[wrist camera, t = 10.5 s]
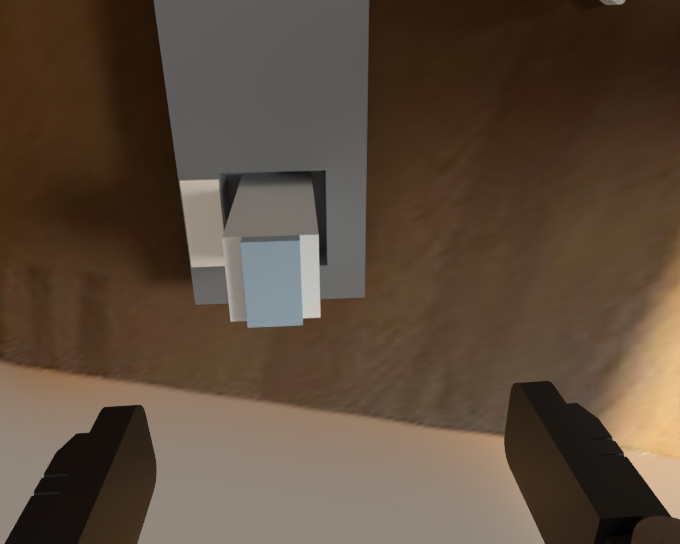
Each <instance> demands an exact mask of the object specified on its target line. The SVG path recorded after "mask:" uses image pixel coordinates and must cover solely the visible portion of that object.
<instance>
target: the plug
mask: <svg viewBox="0 0 680 544" xmlns="http://www.w3.org/2000/svg"><path fill="white" fill-rule="evenodd" d="M222 243H223V253H224V262H225V272H226V281H227V291H228V300H229V310H230V319H231V321H247V324H248V328H251V327H274V326H296V325H303V318H321V317H320V272H319V233H318V225H317V217H316V209H315V201H314V193H313V184H312V176H311V173H281V174H242V177H241V180H240V183H239V186H238V189H237V192H236V195H235V199H234V202H233V205H232V208H231V211H230V214H229V217H228V220H227V224H226V227H225V230H224V233H223V236H222Z"/></svg>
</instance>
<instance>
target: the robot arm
mask: <svg viewBox="0 0 680 544" xmlns="http://www.w3.org/2000/svg"><path fill="white" fill-rule="evenodd" d="M504 444H505V453H506V458H507V461H508V464H509V467H510V469H511V471H512V473H513V475H514V477H515V480H516V482H517V484H518V486H519V488H520V491H521V493H522V495H523V497H524V499H525V501H526V503H527V506H528V508H529V510H530V512H531V514H532V516H533V519H534V521H535V522H536V525H537V527H538V529H539V531H540V534H541V536H542V538H543V540H544V542H545V544H680V519H677V518H672V517H671V516H670V514H669V513H668V512H667V510H666V509H665V508H664V506H663V505H662V504H661V502H660V501H659V500H658V498H657V497H656V496H655V494H654V493H653V491H652V490H651V489H650V488H649V486H648V485H647V483H646V482H645V481H644V480H643V478H642V477H641V475H640V474H639V473H638V471H637V470H636V469H635V467H634V466H633V465H632V463H631V462H630V461H629V459H628V458H627V457H624V453H623V451H622V450H621V448H620V447H619V446H618V444H617V443H616V442H615V441H613V440H612V436H611V435H610V434H609V432H608V431H607V430H606V428H605V427H604V426H603V424H602V423H601V422H600V420H599V419H598V418H597V417H595V416H594V415H593V414H591V413H590V412H588V411H587V410H586V409H584V408H583V407H582V406H580V405H579V404H577V403H571V404H566V402H565V401H564V399H563V398H562V397H561V395H560V394H559V392H558V391H557V389H556V388H555V386H554V385H553V384H552V383H551V382H549V381H541V382H525V383H514V384H513V386H512V388H511V393H510V400H509V407H508V414H507V422H506V429H505V437H504ZM155 482H156V458H155V454H154V449H153V445H152V440H151V436H150V432H149V427H148V423H147V418H146V414H145V411H144V408H143V407H142V406H141V405H133V406H132V405H131V406H115V407H104V408H103V409H102V410H101V412H100V413H99V415H98V417H97V419H96V421H95V423H94V425H93V427H92V429H91V431H90V433H79V434H76V435H75V436H74V437H73V438H71V439H70V440H69V441H68V442H67V443H66V444H65V445H64V446H63V447H62V448H61V449H59V450H58V451H57V452H56V454H55V455H54V457H53V459H52V461H51V463H50V464H49V466H48V468H47V470H46V471H45V473H44V478H42V479H41V480H40V482H39V484H38V485H37V487H36V489H35V491H34V496H31V498H30V500H29V501H28V503H27V505H26V507H25V508H24V510H23V512H22V514H21V515H20V517H19V519H18V521H17V523H16V524H15V526H14V528H13V530H12V531H11V533H10V535H9V537H8V539H7V540H6V542H5V544H137V543H138V539H139V536H140V532H141V530H142V527H143V523H144V520H145V517H146V514H147V510H148V507H149V504H150V501H151V498H152V495H153V491H154V488H155Z"/></svg>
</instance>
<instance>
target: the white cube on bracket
mask: <svg viewBox="0 0 680 544" xmlns="http://www.w3.org/2000/svg"><path fill="white" fill-rule="evenodd" d="M599 1H601V2H602V3H604V4H605V5H621V4H623V3H624V2H625V1H626V0H599Z"/></svg>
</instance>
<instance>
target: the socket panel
mask: <svg viewBox="0 0 680 544" xmlns="http://www.w3.org/2000/svg"><path fill="white" fill-rule="evenodd" d="M154 7H155V14H156V22H157V29H158V36H159V43H160V51H161V58H162V65H163V72H164V80H165V87H166V94H167V101H168V109H169V116H170V123H171V130H172V138H173V145H174V152H175V159H176V167H177V174H178V181H179V188H180V196H181V203H182V210H183V217H184V225H185V232H186V239H187V246H188V254H189V261H190V268H191V275H192V283H193V290H194V297H195V304H196V305H199V304H222V303H229V300H228V291H227V281H226V272H225V262H224V253H223V243H222V236H223V233H224V230H225V227H226V224H227V220H228V217H229V214H230V211H231V208H232V205H233V202H234V199H235V195H236V192H237V189H238V186H239V183H240V180H241V177H242V174H281V173H311V176H312V184H313V193H314V201H315V209H316V217H317V225H318V233H319V272H320V299H337V298H360V297H365V240H366V175H367V111H368V46H369V0H154Z"/></svg>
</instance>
